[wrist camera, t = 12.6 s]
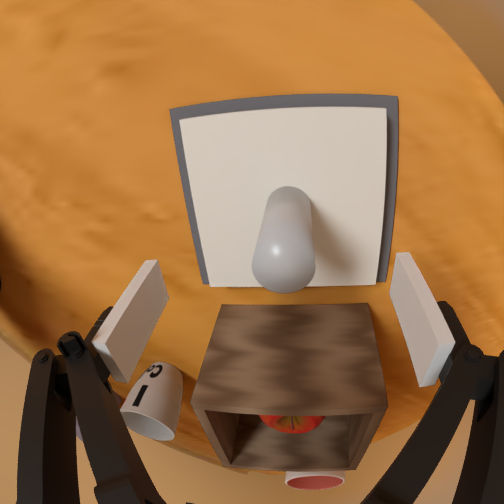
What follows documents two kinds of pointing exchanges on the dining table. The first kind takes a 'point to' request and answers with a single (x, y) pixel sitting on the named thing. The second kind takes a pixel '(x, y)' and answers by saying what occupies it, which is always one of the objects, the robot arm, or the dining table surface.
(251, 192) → the lid
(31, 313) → the dining table surface
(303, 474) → the cup
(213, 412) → the box
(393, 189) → the mat
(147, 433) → the cup
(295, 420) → the apple
